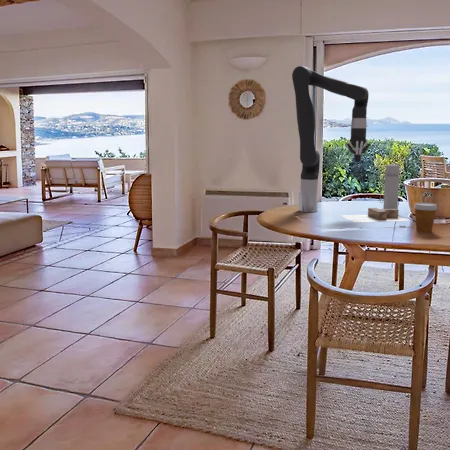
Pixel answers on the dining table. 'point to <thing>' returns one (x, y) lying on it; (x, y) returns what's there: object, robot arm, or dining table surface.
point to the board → (370, 218)
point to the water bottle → (391, 187)
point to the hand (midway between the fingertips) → (357, 162)
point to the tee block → (382, 213)
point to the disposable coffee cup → (425, 216)
